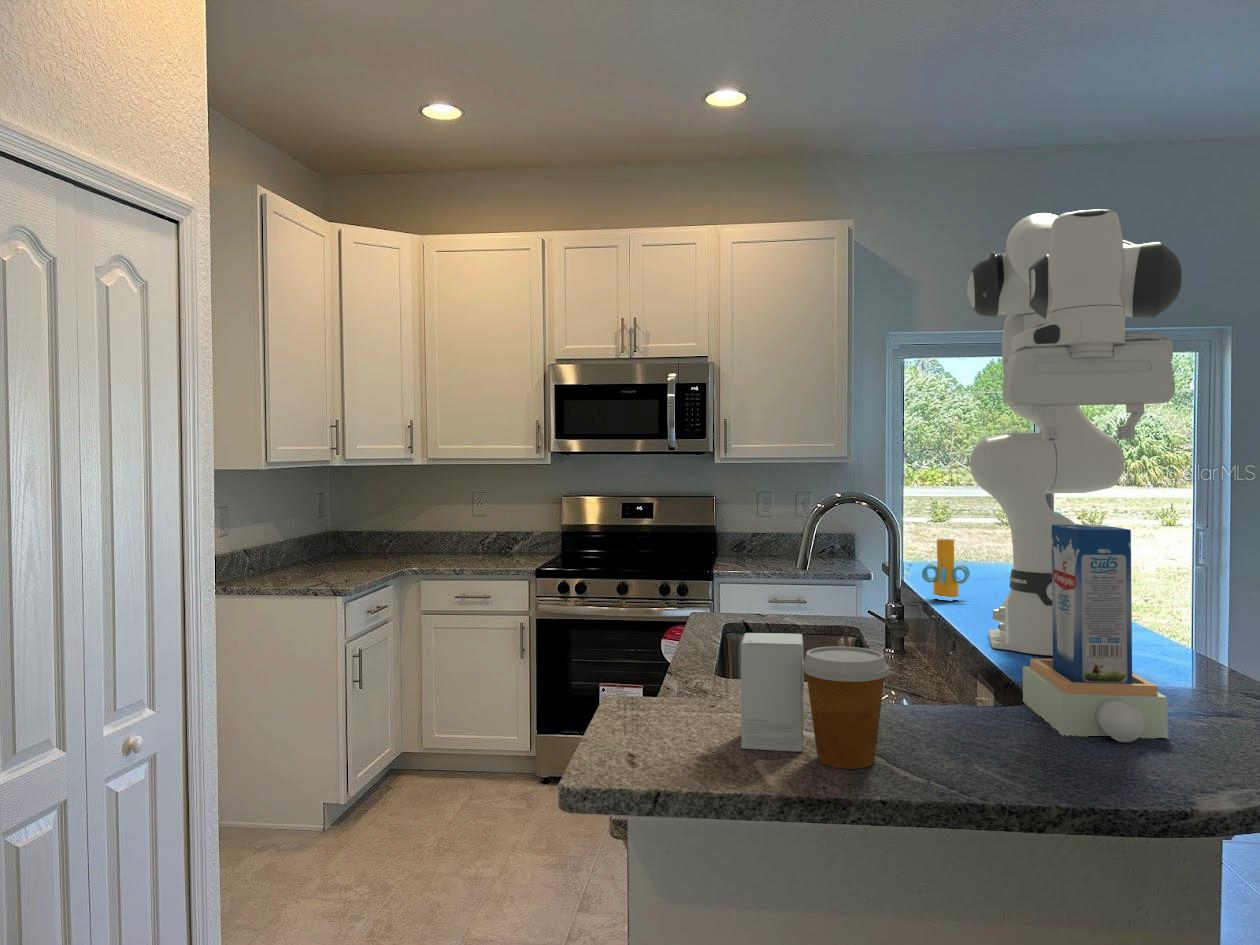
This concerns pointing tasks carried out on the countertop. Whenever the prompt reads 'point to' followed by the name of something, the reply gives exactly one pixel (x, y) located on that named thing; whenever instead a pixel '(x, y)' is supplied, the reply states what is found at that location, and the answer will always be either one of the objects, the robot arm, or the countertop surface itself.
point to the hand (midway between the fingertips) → (1087, 440)
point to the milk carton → (1092, 603)
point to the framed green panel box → (1095, 705)
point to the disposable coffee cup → (845, 703)
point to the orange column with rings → (945, 570)
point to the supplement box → (772, 691)
